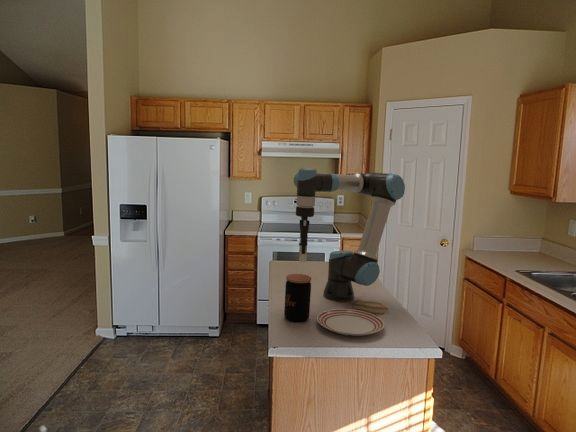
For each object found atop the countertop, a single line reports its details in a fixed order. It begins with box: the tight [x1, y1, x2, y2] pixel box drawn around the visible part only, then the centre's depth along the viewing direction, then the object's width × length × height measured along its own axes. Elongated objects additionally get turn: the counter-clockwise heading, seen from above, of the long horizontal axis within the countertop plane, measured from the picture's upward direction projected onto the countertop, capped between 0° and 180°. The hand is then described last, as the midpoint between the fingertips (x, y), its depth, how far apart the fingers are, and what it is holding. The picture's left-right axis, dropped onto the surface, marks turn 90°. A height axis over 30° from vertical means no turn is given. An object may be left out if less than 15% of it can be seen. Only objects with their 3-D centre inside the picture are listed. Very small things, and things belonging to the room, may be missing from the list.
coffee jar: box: [283, 273, 312, 323], centre depth 169 cm, size 11×11×18 cm
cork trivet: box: [352, 300, 389, 315], centre depth 187 cm, size 16×16×1 cm
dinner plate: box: [316, 308, 385, 337], centre depth 164 cm, size 27×27×3 cm
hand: (302, 257), depth 166 cm, fingers open, 13 cm apart
